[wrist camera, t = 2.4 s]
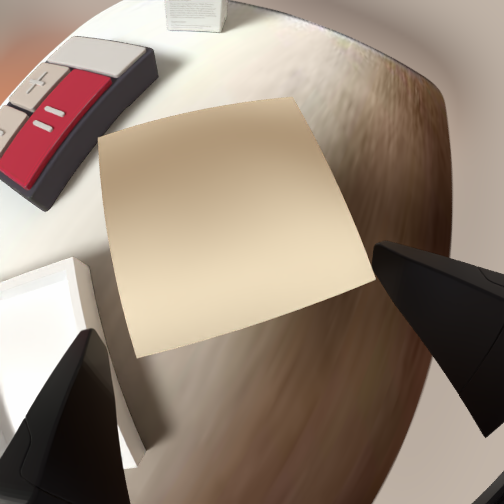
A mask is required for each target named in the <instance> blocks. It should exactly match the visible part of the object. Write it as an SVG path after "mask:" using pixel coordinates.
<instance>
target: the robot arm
mask: <svg viewBox="0 0 504 504" xmlns="http://www.w3.org/2000/svg"><path fill="white" fill-rule="evenodd" d="M372 269H373V271H374V273H375V274H376V276H377V277H378V279H379V280H380V282H381V284H382V285H383V287H384V288H385V290H386V291H387V293H388V295H389V296H390V298H391V299H392V301H393V302H394V304H395V305H396V307H397V308H398V309H399V311H400V312H401V313H402V315H403V316H404V317H405V319H406V320H407V321H408V323H409V324H410V325H411V327H412V328H413V329H414V331H415V332H416V333H417V335H418V336H419V337H420V339H421V340H422V342H423V343H424V344H425V346H426V347H427V348H428V350H429V351H430V353H431V354H432V356H433V357H434V358H435V360H436V361H437V363H438V364H439V366H440V367H441V369H442V370H443V372H444V373H445V374H446V376H447V377H448V379H449V380H450V382H451V383H452V385H453V387H454V388H455V390H456V391H457V393H458V394H459V396H460V398H461V399H462V401H463V402H464V404H465V406H466V407H467V409H468V410H469V412H470V414H471V415H472V417H473V419H474V420H475V422H476V424H477V425H478V427H479V429H480V431H481V432H482V434H483V436H484V437H485V438H486V437H488V436H489V435H490V434H491V433H492V432H493V431H494V430H496V429H497V428H498V427H499V426H500V425H501V424H503V423H504V274H501V273H498V272H494V271H491V270H488V269H484V268H481V267H476V266H474V265H471V264H468V263H465V262H461V261H457V260H454V259H451V258H448V257H444V256H441V255H437V254H434V253H430V252H427V251H423V250H419V249H416V248H412V247H408V246H405V245H401V244H397V243H393V242H390V241H382V242H379V243H376V244H375V246H374V250H373V258H372ZM0 504H130V499H129V495H128V490H127V485H126V480H125V474H124V469H123V462H122V456H121V449H120V441H119V433H118V424H117V414H116V402H115V394H114V388H113V382H112V376H111V369H110V363H109V355H108V350H107V348H106V346H105V344H104V343H103V341H102V340H101V338H100V336H99V335H98V333H97V332H96V330H95V329H94V328H88V329H84V330H81V331H80V332H79V334H78V335H77V336H76V338H75V339H74V341H73V342H72V344H71V345H70V346H69V348H68V349H67V351H66V352H65V354H64V355H63V357H62V358H61V360H60V361H59V363H58V364H57V366H56V367H55V369H54V370H53V372H52V373H51V375H50V376H49V378H48V379H47V381H46V383H45V384H44V386H43V387H42V389H41V390H40V392H39V394H38V395H37V397H36V399H35V400H34V402H33V404H32V405H31V407H30V409H29V410H28V412H27V414H26V415H25V418H24V419H23V421H22V422H21V424H20V426H19V428H18V430H17V431H16V433H15V435H14V436H13V438H12V440H11V442H10V443H9V445H8V447H7V448H6V450H5V451H4V453H3V455H2V456H1V458H0ZM472 504H504V471H503V472H502V474H501V475H500V476H499V477H498V478H497V479H496V480H495V481H494V482H493V483H492V484H491V486H489V487H488V488H487V489H486V490H485V491H484V492H483V493H482V494H481V495H480V496H479V497H478V498H477V499H476V500H475V501H474V502H473V503H472Z"/></svg>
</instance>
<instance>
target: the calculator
mask: <svg viewBox="0 0 504 504" xmlns="http://www.w3.org/2000/svg"><path fill="white" fill-rule="evenodd" d="M157 78H158V71H157V66H156V61H155V55H154V50H153V49H152V48H148V47H143V46H138V45H133V44H128V43H123V42H117V41H111V40H104V39H97V38H89V37H81V36H74V37H71V38H70V39H69V40H68V41H67V42H65V43H64V44H63V45H62V46H61V47H60V48H59V49H58V50H57V51H55V52H54V53H53V54H52V55H51V56H50V57H49V58H48V59H47V61H46V62H45V63H41V64H40V65H39V66H38V67H37V68H36V69H35V70H34V71H33V72H32V73H31V74H30V75H29V76H28V77H27V79H26V80H25V81H24V82H23V83H22V84H21V85H20V86H19V87H18V89H17V90H16V91H15V92H14V93H13V94H12V96H11V97H10V98H9V101H10V102H9V103H8V104H7V105H4V106H3V107H2V108H1V109H0V179H1V180H2V181H3V182H4V183H6V184H7V185H8V186H10V187H11V188H12V189H13V190H15V191H16V192H17V193H19V194H20V195H21V196H23V197H24V198H25V199H27V200H28V201H30V202H31V203H32V204H34V205H35V206H37V207H38V208H39V209H41V210H42V211H44V212H46V211H48V210H49V209H50V208H51V206H52V205H53V203H54V202H55V200H56V199H57V197H58V196H59V194H60V193H61V191H62V190H63V188H64V187H65V185H66V184H67V182H68V181H69V179H70V178H71V177H72V175H73V174H74V172H75V171H76V170H77V168H78V167H79V166H80V164H81V163H82V162H83V160H84V159H85V158H86V156H87V155H88V154H89V152H90V151H91V150H92V148H93V147H94V146H95V145H96V143H97V142H98V137H101V136H103V134H104V133H105V132H106V130H107V129H108V128H109V127H110V126H111V124H112V123H113V122H114V121H115V120H116V118H117V117H118V116H119V115H120V114H121V112H122V111H123V110H124V109H125V108H126V107H128V106H130V105H131V104H132V103H133V102H134V101H135V100H136V99H137V98H138V97H139V96H140V95H141V94H142V93H143V92H144V91H145V90H146V89H147V88H148V87H149V86H150V85H151V84H152V83H153V82H154V81H155V80H156V79H157Z"/></svg>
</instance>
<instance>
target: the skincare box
mask: <svg viewBox="0 0 504 504" xmlns="http://www.w3.org/2000/svg"><path fill="white" fill-rule="evenodd" d="M227 6H228V0H165V12H166V23H167V30H181V31H207V32H221V30H222V28H223V25H224V23H225V21H226V18H227Z"/></svg>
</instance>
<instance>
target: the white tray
mask: <svg viewBox="0 0 504 504" xmlns="http://www.w3.org/2000/svg"><path fill="white" fill-rule="evenodd" d="M88 328H94V329H95V330H96V332H97V333H98V335H99V336H100V338H101V340H102V341H103V343H104V344H105V346H106V348H107V350H108V347H107V344H106V340H105V337H104V333H103V329H102V325H101V321H100V317H99V313H98V308H97V304H96V299H95V295H94V290H93V285H92V279H91V274H90V268H89V266H88V265H86V264H84V263H83V262H81V261H79V260H78V259H76V258H74V257H70V258H67V259H64V260H61V261H58V262H55V263H53V264H50V265H47V266H44V267H41V268H38V269H35V270H33V271H30V272H27V273H24V274H21V275H19V276H16V277H13V278H11V279H8V280H5V281H3V282H0V458H1V456H2V455H3V453H4V451H5V450H6V448H7V447H8V445H9V443H10V442H11V440H12V438H13V436H14V435H15V433H16V431H17V430H18V428H19V426H20V424H21V422H22V421H23V419H24V418H25V415H26V414H27V412H28V410H29V409H30V407H31V405H32V404H33V402H34V400H35V399H36V397H37V395H38V394H39V392H40V390H41V389H42V387H43V386H44V384H45V383H46V381H47V379H48V378H49V376H50V375H51V373H52V372H53V370H54V369H55V367H56V366H57V364H58V363H59V361H60V360H61V358H62V357H63V355H64V354H65V352H66V351H67V349H68V348H69V346H70V345H71V344H72V342H73V341H74V339H75V338H76V336H77V335H78V334H79V332H80V331H81V330H84V329H88ZM108 355H109V363H110V369H111V376H112V382H113V388H114V394H115V402H116V414H117V424H118V433H119V441H120V449H121V456H122V462H123V469H127V468H135V467H138V465H139V463H140V462H141V460H142V458H143V456H144V454H145V453H146V450H145V448H144V445H143V443H142V441H141V439H140V436H139V434H138V432H137V430H136V427H135V425H134V422H133V420H132V417H131V415H130V412H129V410H128V407H127V405H126V402H125V399H124V397H123V394H122V391H121V388H120V385H119V382H118V379H117V377H116V373H115V370H114V367H113V364H112V361H111V358H110V354H109V351H108Z"/></svg>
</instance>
